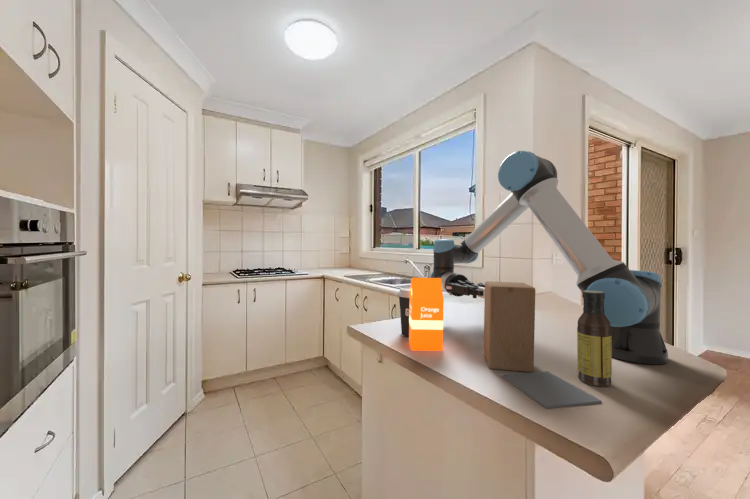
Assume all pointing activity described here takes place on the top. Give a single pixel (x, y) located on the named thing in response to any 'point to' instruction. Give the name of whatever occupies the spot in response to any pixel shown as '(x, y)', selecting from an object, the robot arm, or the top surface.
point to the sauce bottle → (594, 341)
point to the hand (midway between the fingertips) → (492, 295)
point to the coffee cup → (404, 310)
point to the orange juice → (426, 314)
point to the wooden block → (509, 326)
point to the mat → (550, 389)
